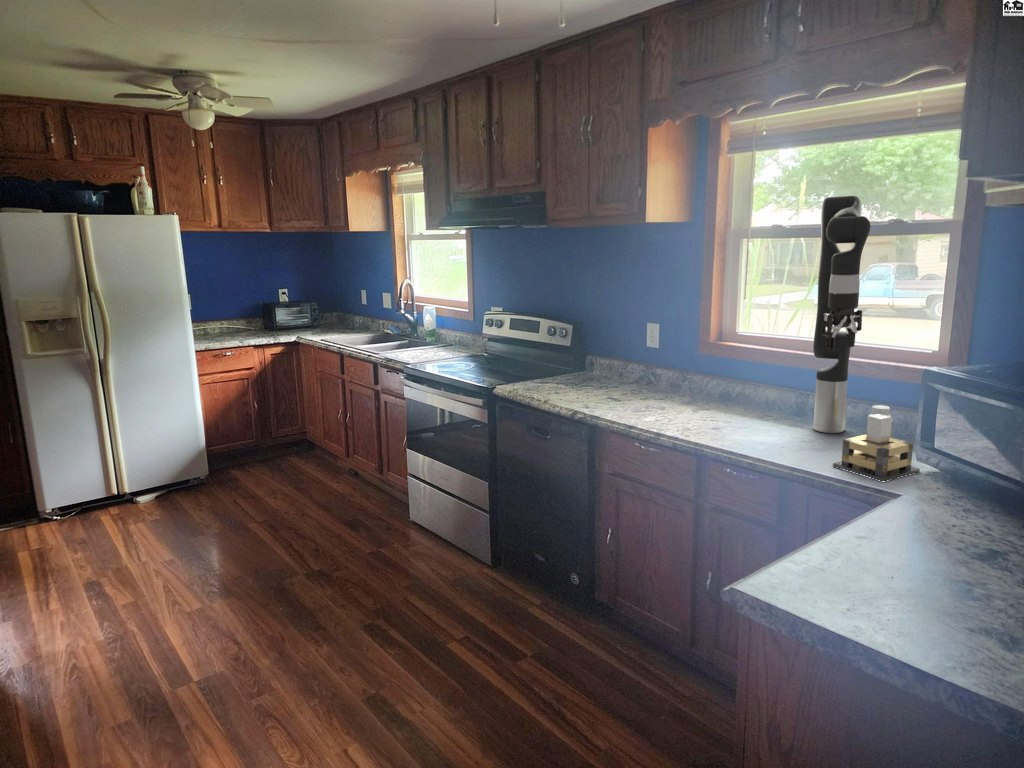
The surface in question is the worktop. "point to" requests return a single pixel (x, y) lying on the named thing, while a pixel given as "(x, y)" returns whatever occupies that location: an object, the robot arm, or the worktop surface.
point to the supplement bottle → (881, 413)
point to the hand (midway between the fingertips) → (840, 348)
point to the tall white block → (878, 431)
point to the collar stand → (877, 458)
